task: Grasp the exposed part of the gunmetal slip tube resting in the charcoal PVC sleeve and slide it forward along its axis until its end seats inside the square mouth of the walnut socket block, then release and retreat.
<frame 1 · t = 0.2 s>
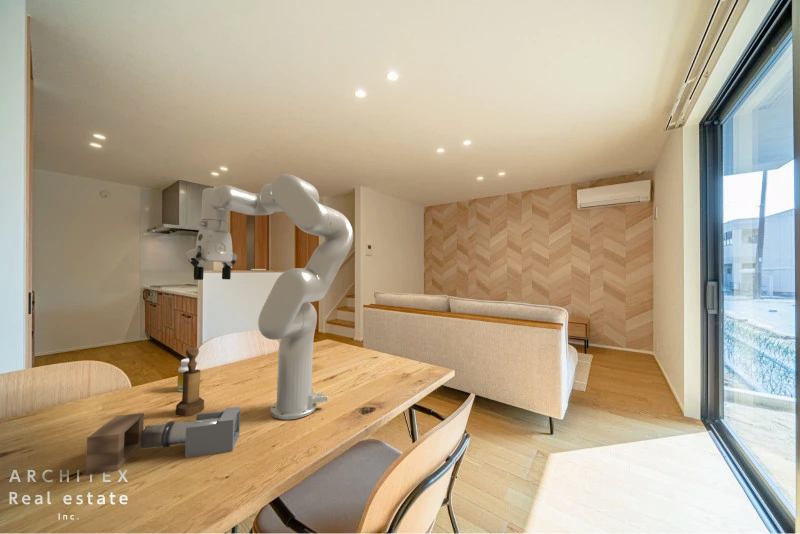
hand: (213, 279, 95), 37 cm above the table, tool pointing down, fingers open, 9 cm apart
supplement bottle: (187, 389, 97), on the table
sleeve: (213, 445, 67), on the table
socket block: (116, 458, 61), on the table
brown wooden upright piece: (190, 411, 82), on the table
slip tube: (192, 431, 65), point 4 cm above the table, slide at 0.0 cm
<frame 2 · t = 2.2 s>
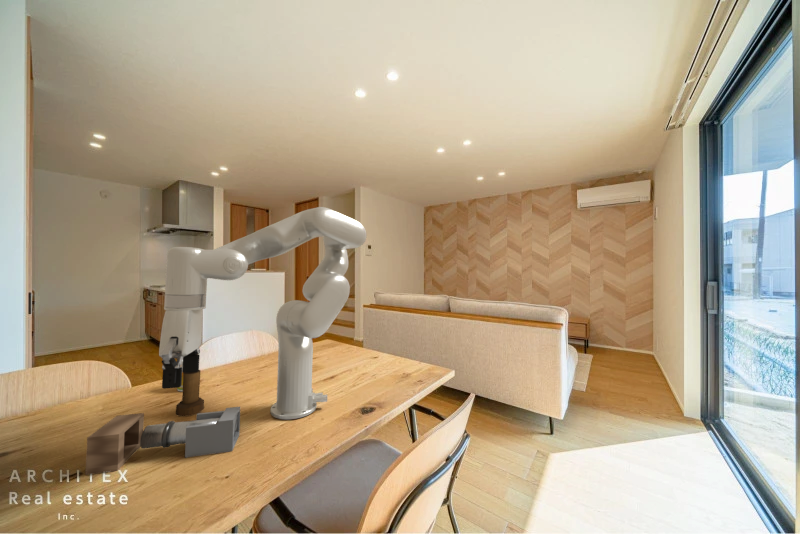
hand: (181, 379, 65), 16 cm above the table, tool pointing down, fingers open, 9 cm apart
nothing on the table moved.
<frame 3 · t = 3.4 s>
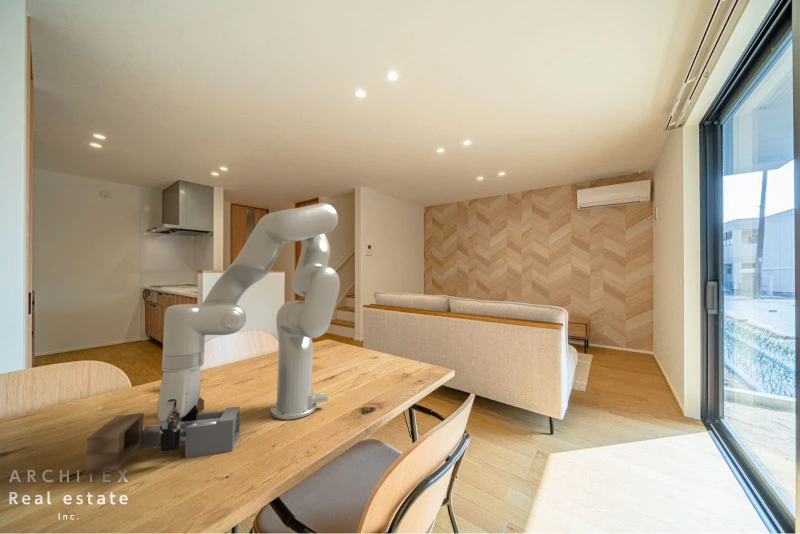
hand: (180, 437, 65), 3 cm above the table, tool pointing down, fingers open, 9 cm apart
nothing on the table moved.
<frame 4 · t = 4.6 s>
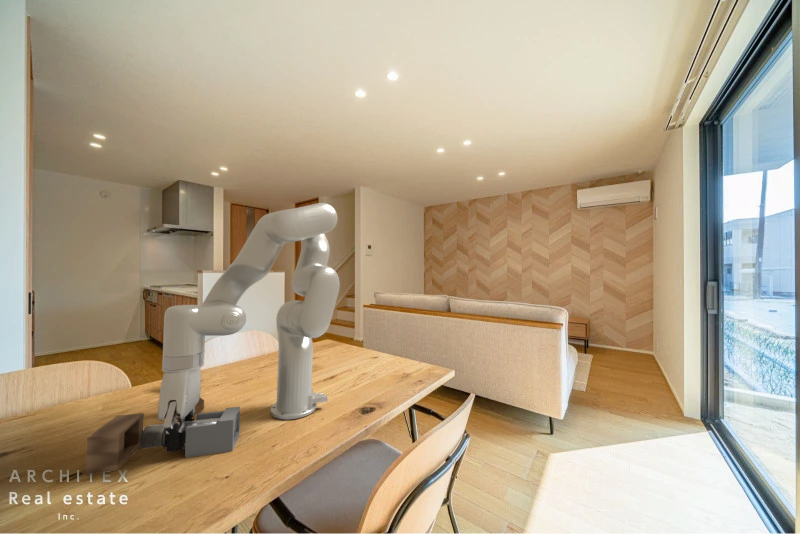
hand: (180, 442, 65), 2 cm above the table, tool pointing down, fingers closed on slip tube, 4 cm apart
slip tube: (192, 431, 65), point 4 cm above the table, slide at 0.0 cm, touching gripper
everything else where it was.
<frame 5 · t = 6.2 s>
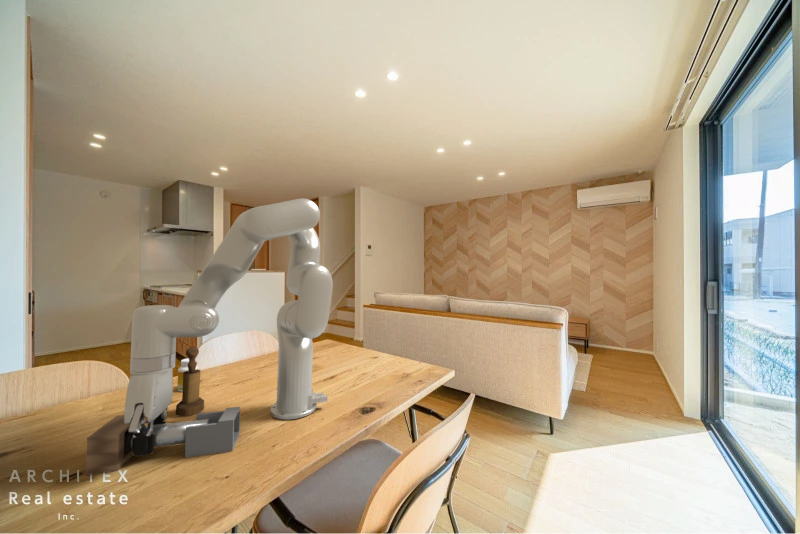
hand: (150, 446, 63), 2 cm above the table, tool pointing down, fingers closed on slip tube, 4 cm apart
slip tube: (162, 434, 64), point 4 cm above the table, slide at 5.6 cm, touching gripper
everything else where it was.
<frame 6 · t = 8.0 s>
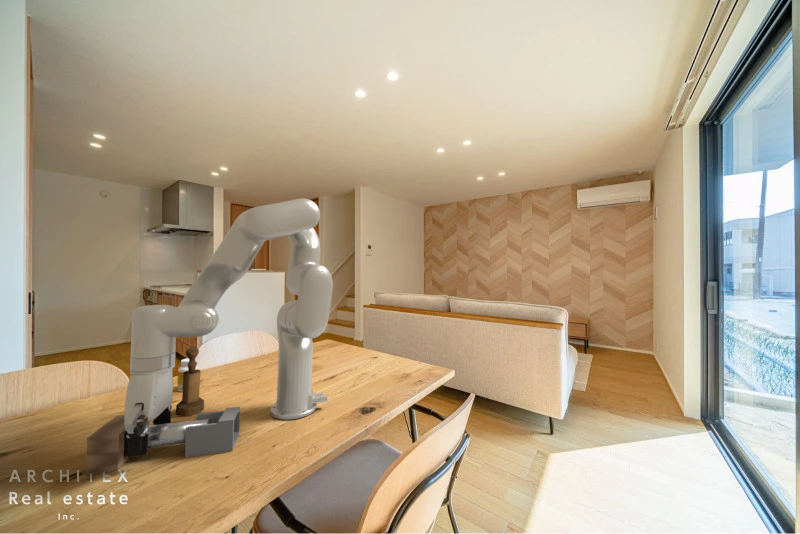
hand: (150, 441, 63), 3 cm above the table, tool pointing down, fingers open, 9 cm apart
slip tube: (162, 434, 64), point 4 cm above the table, slide at 5.6 cm
everything else where it was.
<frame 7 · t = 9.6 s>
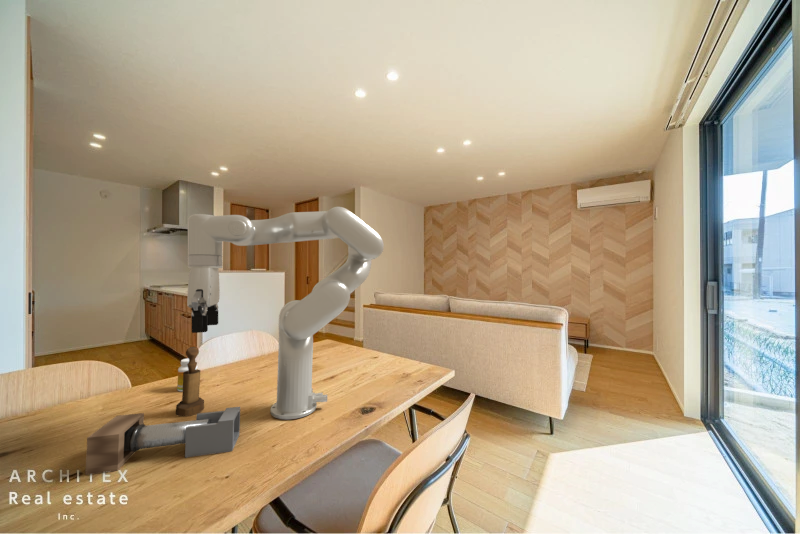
hand: (205, 328, 76), 25 cm above the table, tool pointing down, fingers open, 9 cm apart
nothing on the table moved.
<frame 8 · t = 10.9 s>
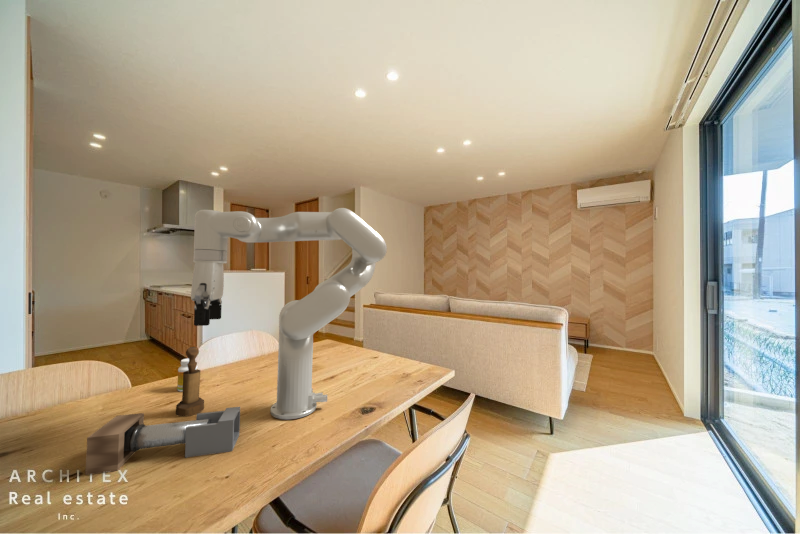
hand: (208, 322, 77), 26 cm above the table, tool pointing down, fingers open, 9 cm apart
nothing on the table moved.
at the end: slip tube slide at 5.6 cm; the gripper is holding nothing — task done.
